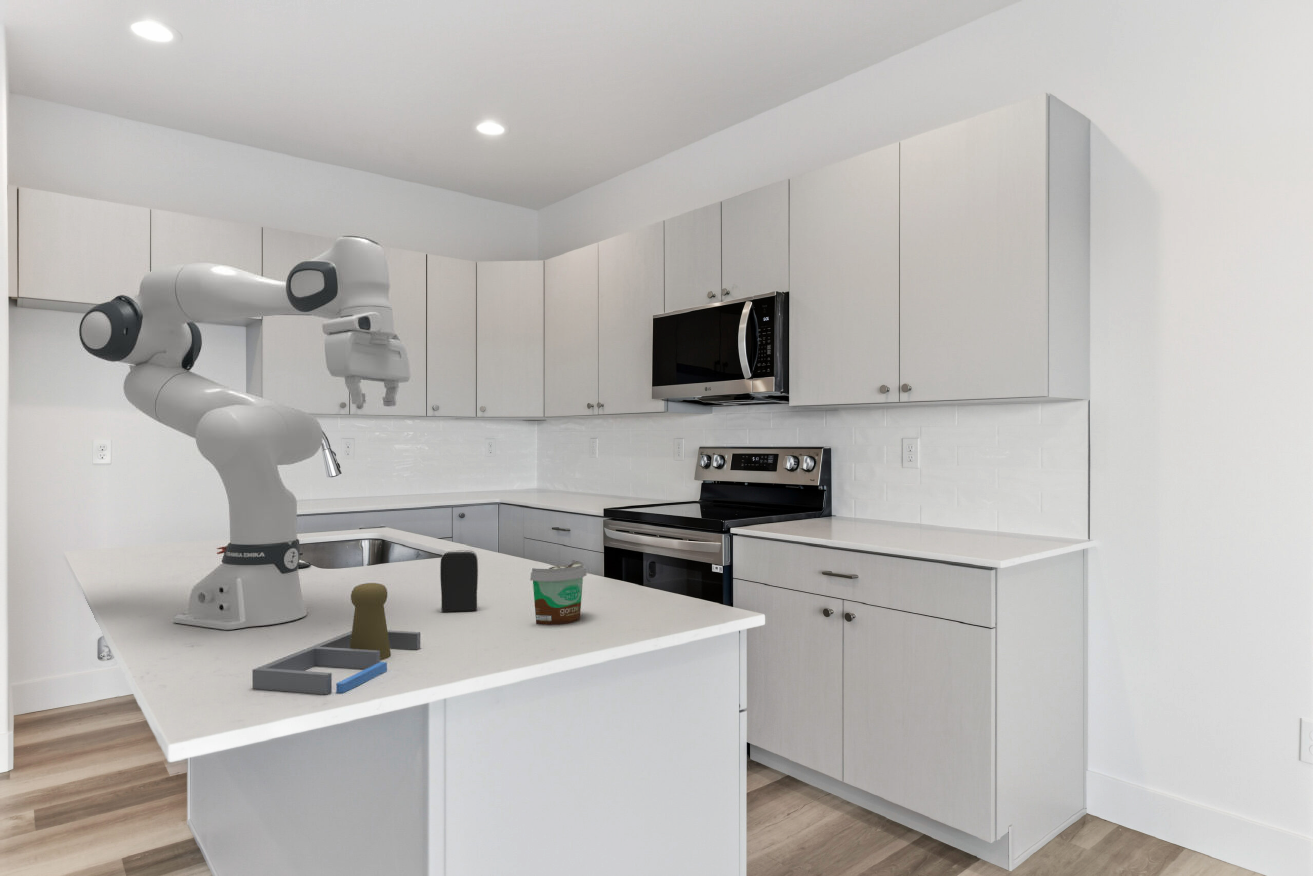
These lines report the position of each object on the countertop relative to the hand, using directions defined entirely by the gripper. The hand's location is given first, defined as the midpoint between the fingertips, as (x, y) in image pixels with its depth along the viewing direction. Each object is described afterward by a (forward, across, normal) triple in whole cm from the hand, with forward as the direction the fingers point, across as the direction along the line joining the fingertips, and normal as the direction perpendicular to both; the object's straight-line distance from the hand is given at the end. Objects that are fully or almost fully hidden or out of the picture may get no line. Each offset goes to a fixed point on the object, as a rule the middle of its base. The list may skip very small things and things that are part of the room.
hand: (375, 405), depth 140 cm
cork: (+40, +18, +7) cm, 45 cm away
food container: (+42, -10, +28) cm, 51 cm away
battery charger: (+40, -14, +5) cm, 42 cm away
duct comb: (+40, +24, +7) cm, 47 cm away
